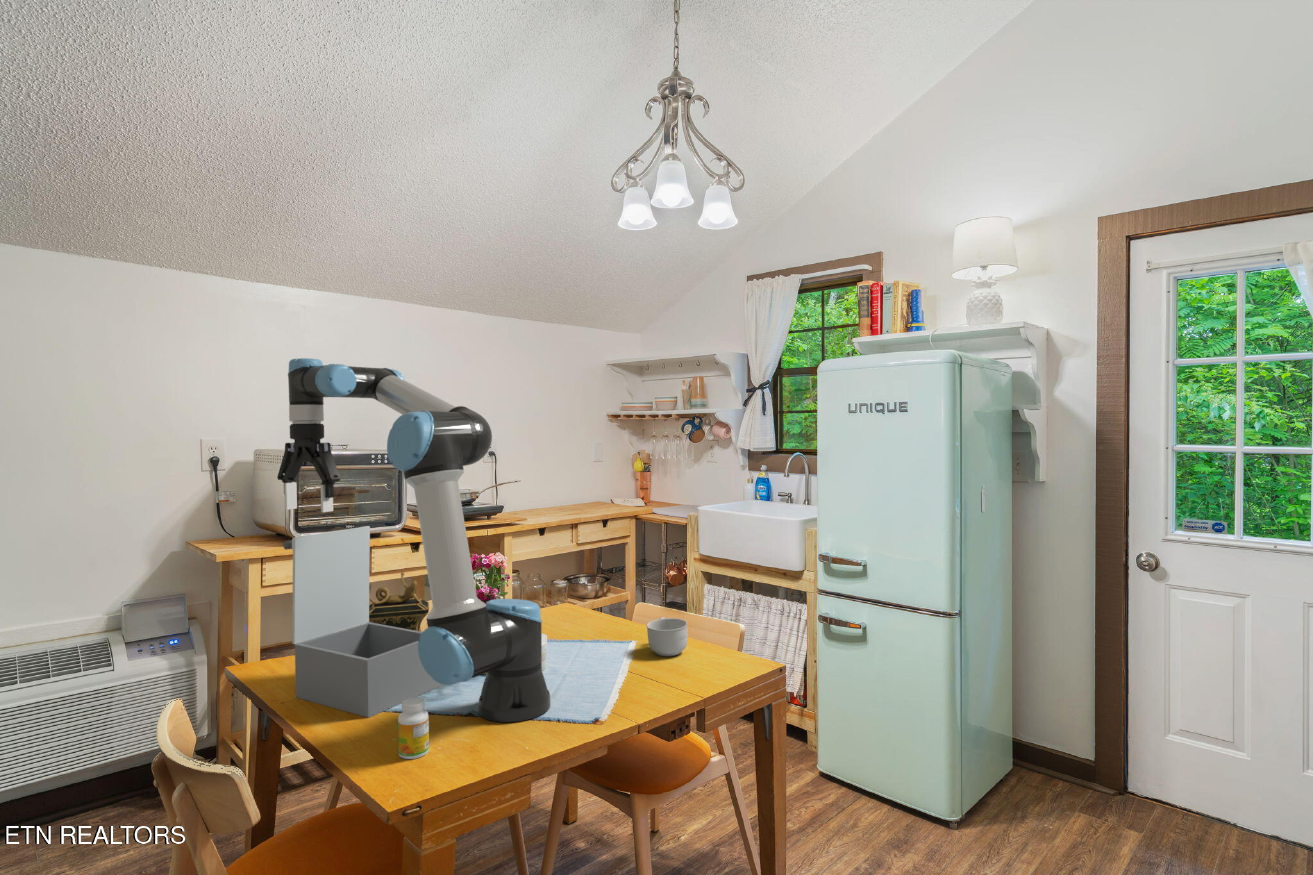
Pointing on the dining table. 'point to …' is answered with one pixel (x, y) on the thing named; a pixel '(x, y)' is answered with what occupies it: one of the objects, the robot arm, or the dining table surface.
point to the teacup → (667, 636)
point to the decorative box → (398, 608)
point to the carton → (361, 669)
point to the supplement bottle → (413, 729)
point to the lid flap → (329, 582)
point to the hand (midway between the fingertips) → (308, 510)
